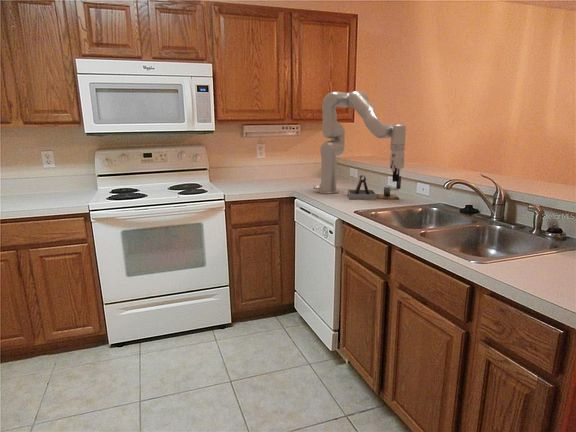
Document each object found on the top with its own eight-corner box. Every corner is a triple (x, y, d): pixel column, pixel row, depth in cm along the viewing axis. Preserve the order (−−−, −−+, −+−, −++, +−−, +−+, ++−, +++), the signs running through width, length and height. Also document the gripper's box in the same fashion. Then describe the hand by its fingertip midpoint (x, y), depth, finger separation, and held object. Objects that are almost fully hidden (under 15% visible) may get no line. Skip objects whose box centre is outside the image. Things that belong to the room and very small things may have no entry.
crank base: (377, 199, 222) (377, 197, 222) (374, 195, 233) (375, 193, 233) (399, 199, 221) (399, 197, 221) (395, 195, 232) (395, 193, 232)
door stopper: (354, 196, 226) (355, 176, 223) (353, 195, 232) (354, 174, 229) (370, 197, 225) (371, 176, 222) (369, 195, 231) (370, 175, 228)
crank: (382, 195, 226) (383, 175, 224) (385, 194, 229) (386, 174, 227) (398, 197, 221) (400, 176, 218) (400, 196, 224) (402, 176, 221)
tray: (349, 199, 221) (349, 194, 220) (347, 194, 237) (347, 189, 236) (376, 200, 220) (376, 194, 219) (372, 194, 236) (373, 190, 235)
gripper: (399, 148, 204) (397, 183, 208) (409, 147, 216) (406, 180, 220) (385, 148, 208) (383, 182, 212) (395, 146, 220) (394, 179, 224)
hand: (395, 181), depth 216 cm, fingers closed
